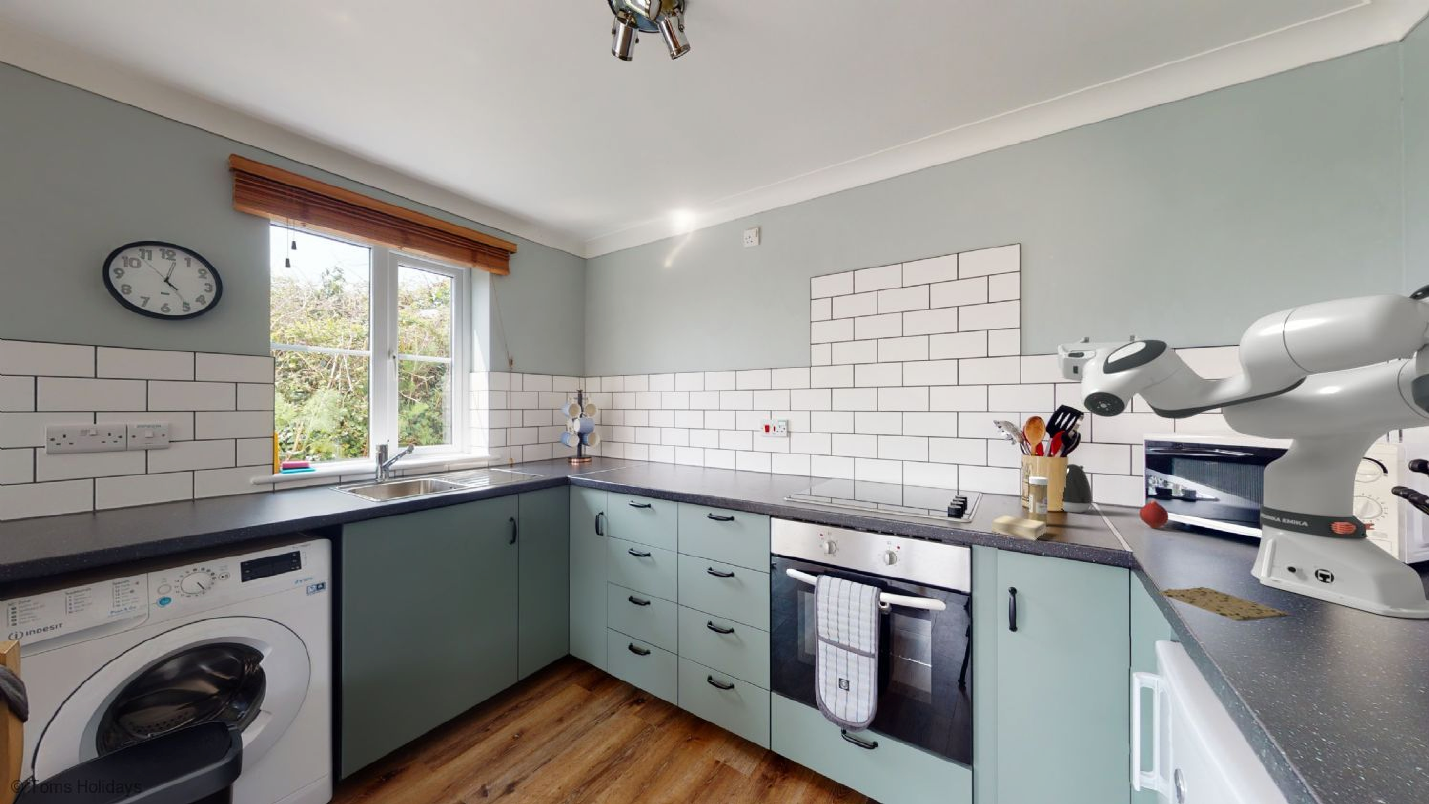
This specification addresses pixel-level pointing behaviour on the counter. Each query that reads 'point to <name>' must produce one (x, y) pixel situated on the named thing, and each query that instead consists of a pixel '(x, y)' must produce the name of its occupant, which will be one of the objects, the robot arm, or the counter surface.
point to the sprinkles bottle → (1038, 499)
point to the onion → (1154, 514)
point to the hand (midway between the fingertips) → (1109, 338)
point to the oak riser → (1019, 527)
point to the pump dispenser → (1076, 490)
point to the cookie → (1223, 603)
